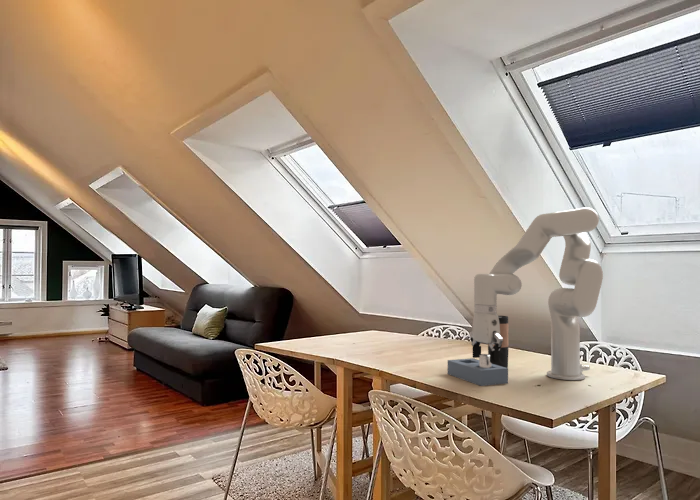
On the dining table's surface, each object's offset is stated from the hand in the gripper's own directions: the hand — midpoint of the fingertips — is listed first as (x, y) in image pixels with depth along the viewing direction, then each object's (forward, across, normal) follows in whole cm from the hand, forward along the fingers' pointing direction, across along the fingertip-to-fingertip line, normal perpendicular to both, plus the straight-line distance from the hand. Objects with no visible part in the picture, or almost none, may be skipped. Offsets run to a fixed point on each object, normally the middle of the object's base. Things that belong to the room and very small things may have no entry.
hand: (485, 359), depth 180 cm
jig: (+7, +5, 0) cm, 9 cm away
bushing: (+7, 0, 0) cm, 7 cm away
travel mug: (+7, +17, -18) cm, 26 cm away
